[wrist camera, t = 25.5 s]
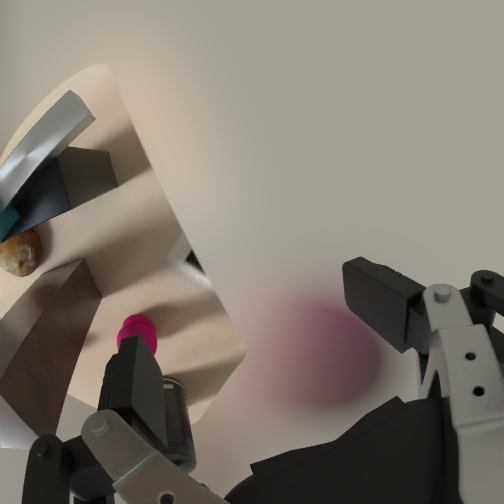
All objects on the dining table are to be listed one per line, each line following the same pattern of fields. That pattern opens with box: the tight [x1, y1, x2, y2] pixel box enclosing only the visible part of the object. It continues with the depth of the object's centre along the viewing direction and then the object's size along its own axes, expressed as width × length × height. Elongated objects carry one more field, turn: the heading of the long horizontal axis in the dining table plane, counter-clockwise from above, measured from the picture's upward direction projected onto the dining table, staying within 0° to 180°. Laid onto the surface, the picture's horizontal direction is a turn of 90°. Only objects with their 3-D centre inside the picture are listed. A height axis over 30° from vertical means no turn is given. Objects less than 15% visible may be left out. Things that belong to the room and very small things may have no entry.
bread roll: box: [0, 227, 41, 277], centre depth 35 cm, size 10×10×8 cm
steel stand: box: [1, 146, 118, 243], centre depth 28 cm, size 6×10×22 cm, turn 103°
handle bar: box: [0, 90, 96, 244], centre depth 16 cm, size 5×16×4 cm, turn 125°
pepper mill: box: [117, 315, 157, 356], centre depth 39 cm, size 7×7×20 cm
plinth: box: [0, 258, 102, 449], centre depth 28 cm, size 8×10×32 cm
